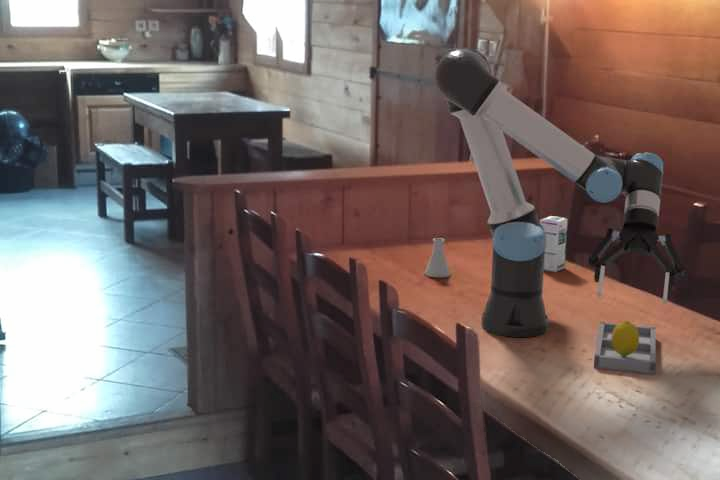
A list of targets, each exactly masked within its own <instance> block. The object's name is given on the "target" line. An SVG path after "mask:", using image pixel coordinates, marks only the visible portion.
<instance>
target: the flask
mask: <svg viewBox="0 0 720 480" xmlns="http://www.w3.org/2000/svg"><path fill="white" fill-rule="evenodd" d="M432 241H433V249H432V253H431V254H430V257H429V261H428V263H427V266H426V268H425V271H424V275H426V276H427V277H430V278H448V277H450V276H451V271H450V267H449V264H448V261H447V258H446V254H445V249H444V242H445V238H440V237H437V238H433V239H432Z"/></svg>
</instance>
